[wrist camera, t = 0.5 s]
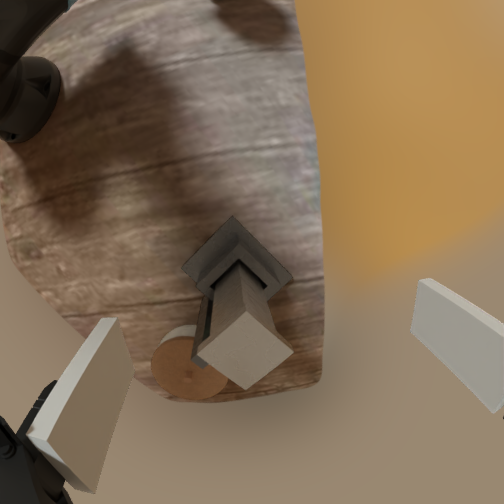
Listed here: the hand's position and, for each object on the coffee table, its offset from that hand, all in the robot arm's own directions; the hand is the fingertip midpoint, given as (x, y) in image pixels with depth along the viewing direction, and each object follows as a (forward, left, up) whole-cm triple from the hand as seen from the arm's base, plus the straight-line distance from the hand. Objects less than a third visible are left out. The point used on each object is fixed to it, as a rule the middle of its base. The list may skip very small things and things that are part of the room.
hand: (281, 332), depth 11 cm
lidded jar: (+8, -18, -29) cm, 35 cm away
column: (+4, -5, -27) cm, 28 cm away
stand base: (+4, -5, -29) cm, 29 cm away
